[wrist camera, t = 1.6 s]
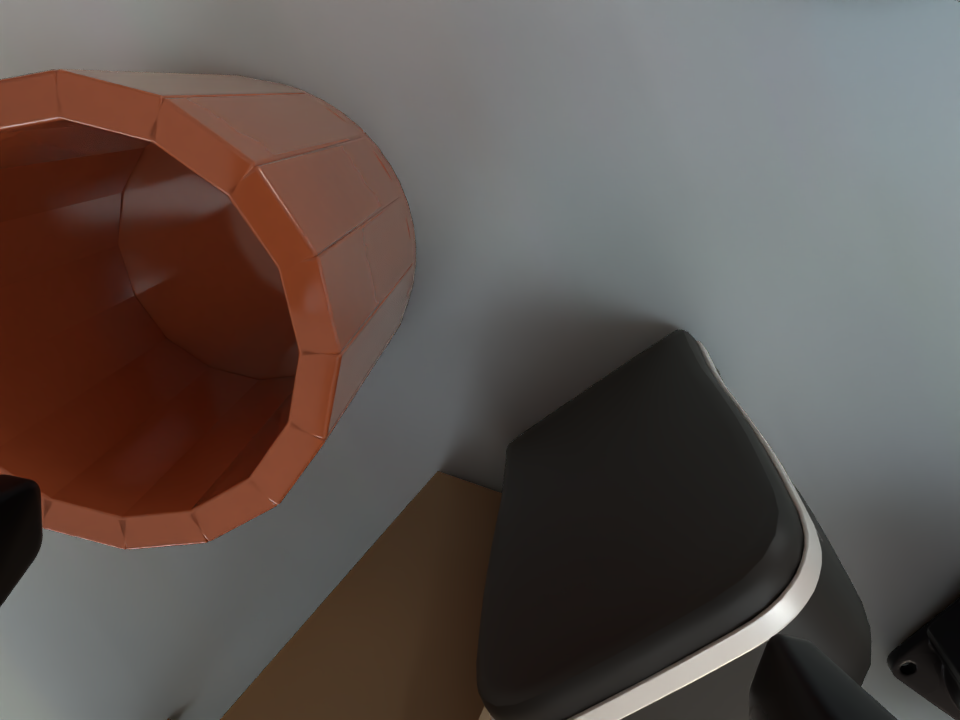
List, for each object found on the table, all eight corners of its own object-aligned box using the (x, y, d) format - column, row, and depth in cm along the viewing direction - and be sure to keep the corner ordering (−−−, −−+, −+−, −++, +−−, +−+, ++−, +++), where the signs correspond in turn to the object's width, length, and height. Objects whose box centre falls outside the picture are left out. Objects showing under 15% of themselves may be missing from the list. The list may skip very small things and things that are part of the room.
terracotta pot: (479, 214, 21) (434, 292, 13) (312, 445, 24) (192, 622, 16) (199, 5, 20) (-39, -51, 12) (60, 276, 23) (-204, 377, 15)
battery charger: (570, 530, 24) (583, 881, 14) (496, 445, 23) (450, 747, 13) (760, 413, 22) (951, 715, 12) (687, 315, 21) (821, 543, 11)
